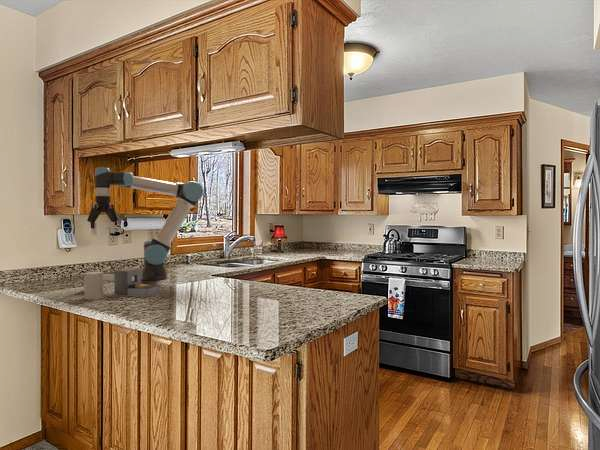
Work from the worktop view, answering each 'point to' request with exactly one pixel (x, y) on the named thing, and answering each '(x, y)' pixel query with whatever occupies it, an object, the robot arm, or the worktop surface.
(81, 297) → the worktop surface
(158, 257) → the robot arm
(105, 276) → the shaft
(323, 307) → the worktop surface
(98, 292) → the grey upright block
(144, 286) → the spacer
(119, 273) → the bearing block
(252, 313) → the worktop surface
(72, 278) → the worktop surface
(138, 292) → the tray
